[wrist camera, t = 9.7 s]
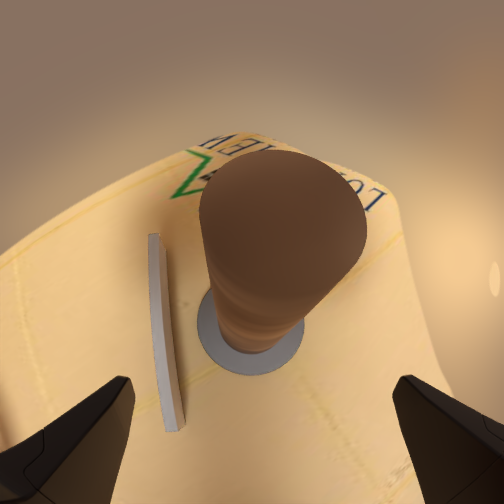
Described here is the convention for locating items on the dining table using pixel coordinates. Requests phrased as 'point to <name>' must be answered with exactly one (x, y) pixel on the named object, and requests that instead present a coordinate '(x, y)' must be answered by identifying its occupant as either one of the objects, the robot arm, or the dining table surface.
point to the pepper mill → (276, 242)
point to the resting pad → (235, 359)
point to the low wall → (163, 336)
